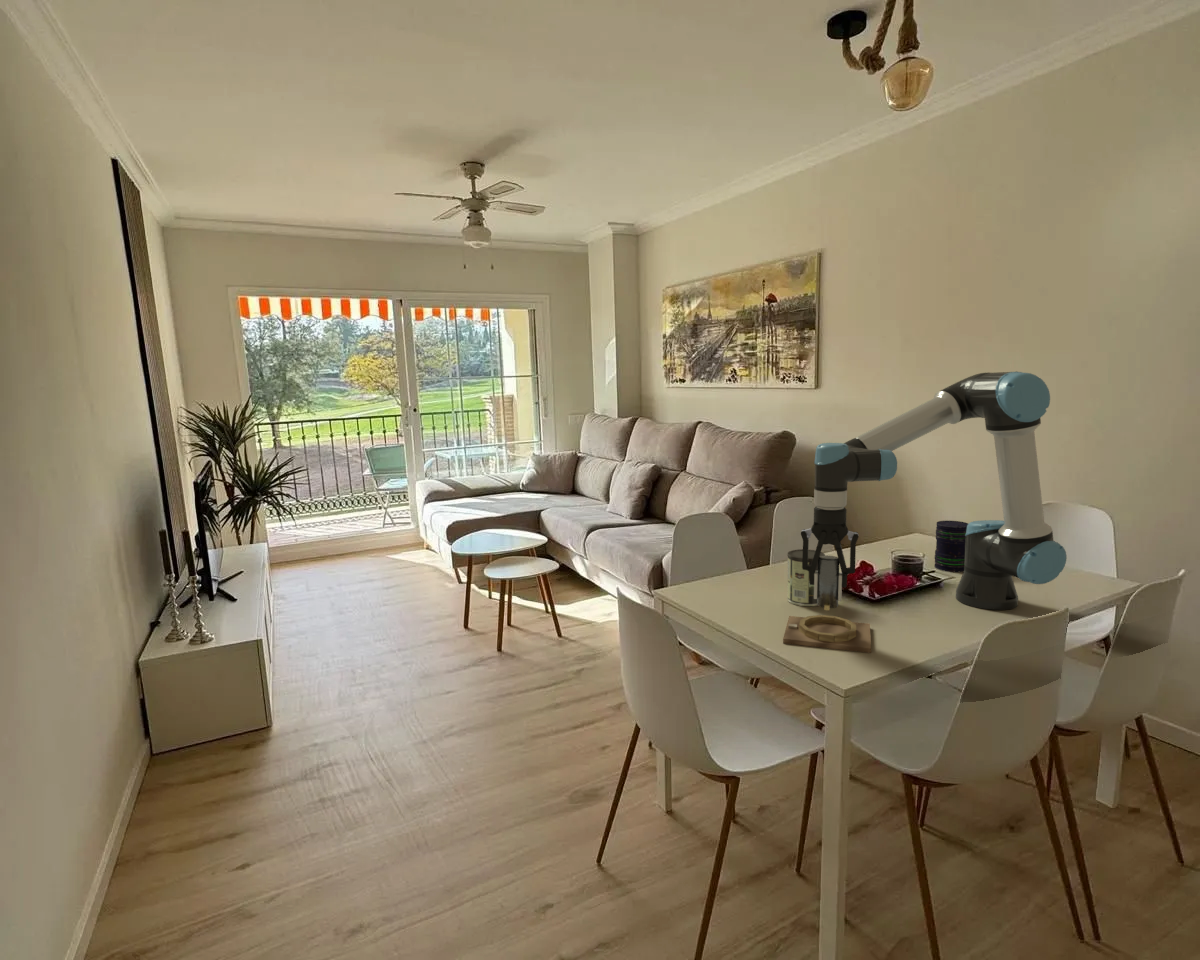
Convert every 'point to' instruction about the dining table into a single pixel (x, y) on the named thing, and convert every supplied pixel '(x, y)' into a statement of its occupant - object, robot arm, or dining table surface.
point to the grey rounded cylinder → (828, 582)
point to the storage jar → (950, 546)
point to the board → (828, 633)
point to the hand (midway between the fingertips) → (827, 598)
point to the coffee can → (800, 579)
